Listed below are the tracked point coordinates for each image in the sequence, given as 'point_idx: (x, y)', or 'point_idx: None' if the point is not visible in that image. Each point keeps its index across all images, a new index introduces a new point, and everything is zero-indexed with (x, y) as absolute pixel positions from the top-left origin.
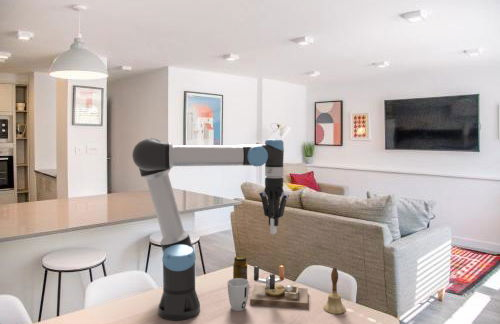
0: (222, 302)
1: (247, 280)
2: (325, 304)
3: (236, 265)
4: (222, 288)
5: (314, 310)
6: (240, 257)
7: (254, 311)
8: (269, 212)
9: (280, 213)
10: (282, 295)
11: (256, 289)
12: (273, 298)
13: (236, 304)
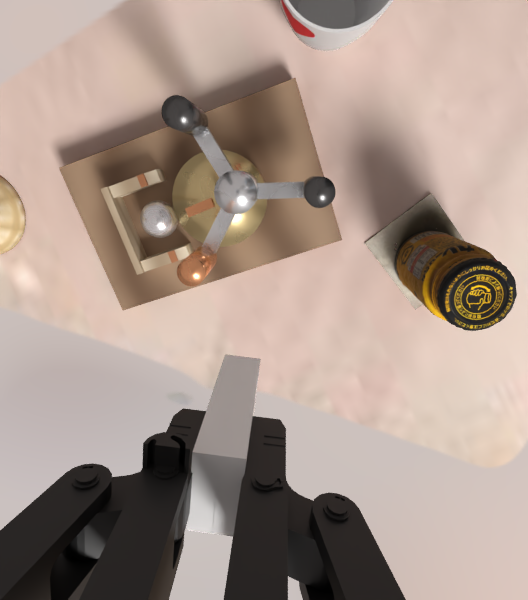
0: (419, 32)
1: (302, 17)
2: (10, 211)
3: (474, 249)
4: (485, 179)
5: (39, 162)
6: (480, 303)
7: (245, 21)
8: (260, 535)
9: (25, 514)
10: None
11: None
12: None
13: None
